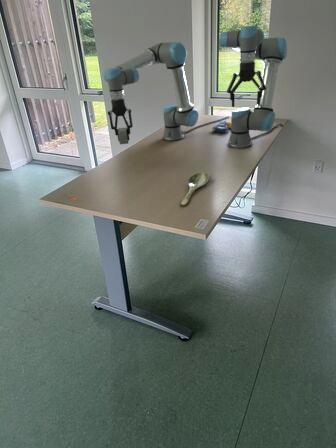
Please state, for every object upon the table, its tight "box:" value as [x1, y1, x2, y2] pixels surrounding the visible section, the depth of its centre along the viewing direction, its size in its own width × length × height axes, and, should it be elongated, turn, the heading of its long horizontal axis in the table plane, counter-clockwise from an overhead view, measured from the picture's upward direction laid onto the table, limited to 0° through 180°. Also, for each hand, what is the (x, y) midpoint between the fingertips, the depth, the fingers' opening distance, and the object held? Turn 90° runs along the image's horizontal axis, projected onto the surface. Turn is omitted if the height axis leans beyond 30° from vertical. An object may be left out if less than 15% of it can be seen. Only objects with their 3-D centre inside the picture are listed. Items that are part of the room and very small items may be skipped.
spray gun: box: [211, 120, 231, 133], centre depth 256 cm, size 21×4×15 cm
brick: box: [117, 126, 130, 145], centre depth 195 cm, size 7×5×8 cm
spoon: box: [180, 171, 210, 207], centre depth 170 cm, size 35×11×2 cm, turn 159°
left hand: (123, 140), depth 196 cm, fingers closed on brick, 5 cm apart
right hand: (245, 105), depth 179 cm, fingers open, 13 cm apart
